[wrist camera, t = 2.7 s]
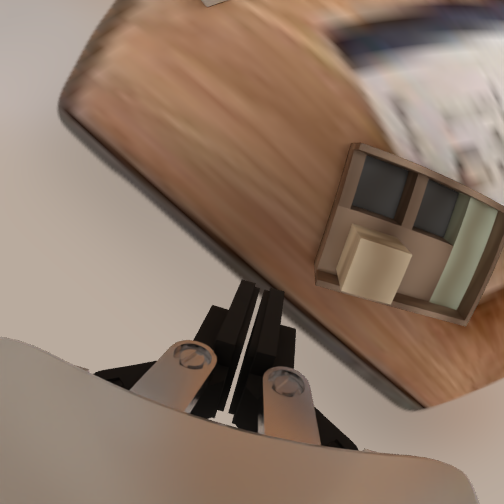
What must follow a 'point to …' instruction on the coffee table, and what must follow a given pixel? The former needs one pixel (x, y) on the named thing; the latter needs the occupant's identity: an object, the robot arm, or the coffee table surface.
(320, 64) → the coffee table surface
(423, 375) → the coffee table surface
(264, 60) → the coffee table surface
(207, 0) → the small box
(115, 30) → the coffee table surface
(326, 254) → the box
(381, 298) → the birch block
